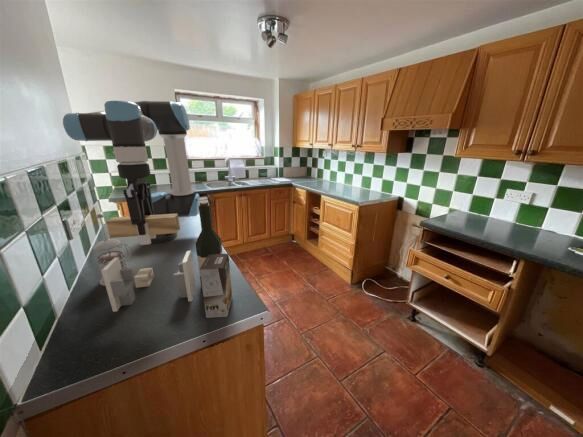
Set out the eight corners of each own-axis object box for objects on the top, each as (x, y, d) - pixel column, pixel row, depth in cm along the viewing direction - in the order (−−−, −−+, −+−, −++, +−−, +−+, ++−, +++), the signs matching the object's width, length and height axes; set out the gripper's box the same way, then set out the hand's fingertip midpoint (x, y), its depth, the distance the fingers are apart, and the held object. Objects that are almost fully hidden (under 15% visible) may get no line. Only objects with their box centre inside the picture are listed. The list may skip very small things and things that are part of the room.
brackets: (124, 295, 79) (114, 257, 75) (196, 286, 84) (190, 250, 79) (113, 311, 72) (101, 270, 67) (192, 301, 76) (186, 262, 72)
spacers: (142, 278, 89) (140, 268, 88) (193, 272, 93) (192, 263, 91) (136, 287, 83) (133, 277, 82) (191, 281, 87) (189, 271, 86)
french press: (93, 282, 86) (73, 216, 78) (124, 267, 97) (110, 207, 89) (111, 288, 83) (92, 220, 75) (142, 272, 93) (128, 210, 85)
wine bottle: (203, 293, 80) (191, 207, 71) (199, 281, 87) (188, 201, 78) (227, 286, 84) (220, 204, 74) (222, 275, 91) (214, 198, 81)
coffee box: (228, 317, 70) (223, 268, 65) (205, 318, 69) (198, 269, 64) (232, 297, 78) (228, 253, 73) (212, 298, 78) (207, 253, 73)
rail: (116, 233, 73) (112, 217, 71) (180, 228, 76) (177, 213, 75) (110, 238, 69) (106, 221, 67) (177, 232, 73) (174, 217, 71)
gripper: (130, 161, 74) (144, 232, 81) (101, 166, 58) (122, 254, 65) (157, 160, 75) (168, 230, 82) (136, 165, 59) (153, 251, 66)
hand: (148, 240), depth 73 cm, fingers closed on rail, 4 cm apart
